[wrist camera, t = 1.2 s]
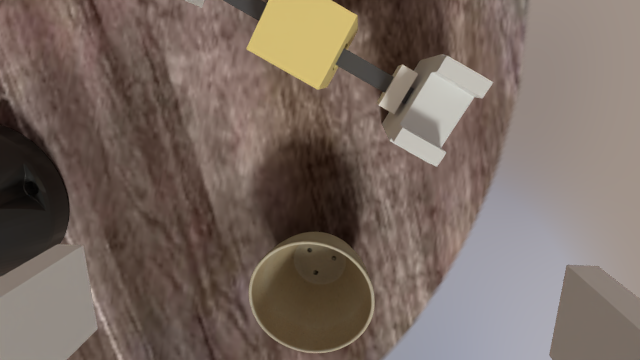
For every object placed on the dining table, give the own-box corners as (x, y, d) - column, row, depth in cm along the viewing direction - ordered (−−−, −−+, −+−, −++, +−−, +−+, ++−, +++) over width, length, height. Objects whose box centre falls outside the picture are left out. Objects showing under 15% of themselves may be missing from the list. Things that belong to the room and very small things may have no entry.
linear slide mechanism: (175, 7, 32) (91, -26, 22) (204, -65, 31) (126, -136, 20) (411, 141, 33) (434, 169, 23) (451, 78, 32) (495, 78, 21)
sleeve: (272, 55, 30) (246, 49, 23) (300, -3, 29) (281, -29, 22) (327, 86, 31) (318, 89, 24) (357, 30, 29) (357, 15, 22)
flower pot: (306, 189, 35) (293, 216, 28) (393, 250, 36) (401, 291, 29) (249, 266, 38) (225, 308, 31) (331, 321, 39) (325, 375, 32)
